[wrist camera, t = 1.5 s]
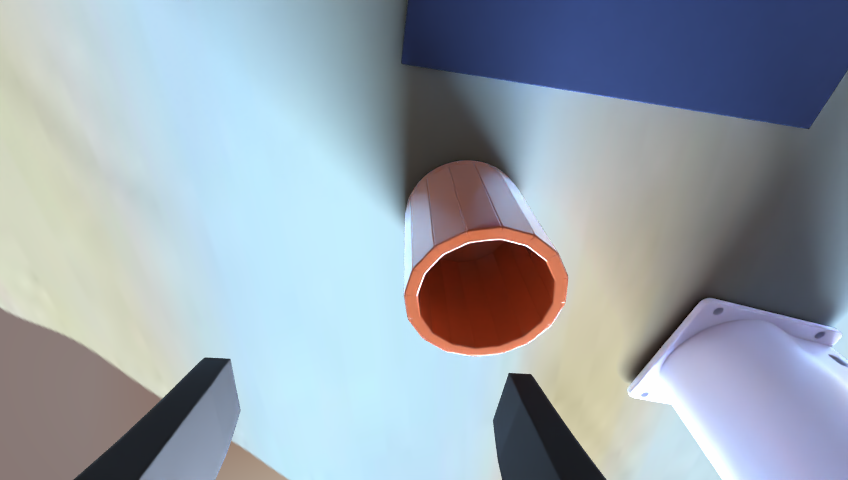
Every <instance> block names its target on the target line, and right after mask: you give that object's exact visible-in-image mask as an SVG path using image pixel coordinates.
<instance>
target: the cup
mask: <svg viewBox="0 0 848 480" xmlns="http://www.w3.org/2000/svg"><path fill="white" fill-rule="evenodd" d="M567 285H568V274H567V272H566V269H565V267H564V265H563V262H562V260H561V258H560V255H559V253H558V252H557V250H556V248H555V247H554V245H553V244H552V242H551V241H550V239H549V237H548V236H547V234H546V233H545V231H544V229H543V228H542V226H541V225H540V223H539V221H538V220H537V218H536V217H535V215H534V213H533V212H532V210H531V209H530V207H529V205H528V204H527V202H526V201H525V199H524V198H523V196H522V194H521V193H520V191H519V190H518V188H517V186H516V185H515V184H514V183H513V182H512V181H511V179H510V178H509V177H508V176H507V175H506V174H505V173H504V172H502V171H501V170H500V169H498V168H496V167H494V166H492V165H490V164H487V163H484V162H480V161H473V160H461V161H455V162H450V163H447V164H444V165H442V166H439V167H437V168H435V169H434V170H432V171H431V172H429V173H428V174H427V175H425V176H424V177H423V178H422V179H421V180H420V181H419V182H418V183H417V185H416V186H415V187H414V189H413V191H412V193H411V194H410V197H409V199H408V202H407V207H406V213H405V228H404V300H405V306H406V312H407V317H408V320H409V321H410V322H411V324H412V325H413V326H414V328H415V329H416V330H417V332H418V333H419V334H420V336H421V337H422V338H423V339H424V340H426V341H428V342H430V343H431V344H433V345H435V346H437V347H439V348H440V349H442V350H444V351H447V352H451V353H456V354H462V355H467V356H484V355H494V354H501V353H505V352H508V351H510V350H513V349H515V348H518V347H520V346H523V345H525V344H528V343H529V342H531V341H532V340H534V339H535V338H536V337H537V336H539V335H540V334H541V333H543V332H544V331H545V330H546V329H548V328H549V327H550V326H551V325H552V324H553V322H554V321H555V319H556V317H557V316H558V314H559V312H560V311H561V309H562V308H563V306H564V304H565V302H566V294H567Z"/></svg>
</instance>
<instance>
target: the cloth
mask: <svg viewBox="0 0 848 480" xmlns="http://www.w3.org/2000/svg"><path fill="white" fill-rule="evenodd" d="M401 63H402V64H406V65H412V66H419V67H425V68H431V69H437V70H444V71H450V72H456V73H462V74H468V75H475V76H481V77H487V78H493V79H500V80H506V81H512V82H518V83H525V84H531V85H537V86H543V87H550V88H556V89H562V90H568V91H575V92H581V93H587V94H593V95H599V96H606V97H612V98H618V99H624V100H631V101H637V102H643V103H649V104H656V105H662V106H668V107H674V108H681V109H687V110H693V111H699V112H706V113H712V114H718V115H724V116H730V117H737V118H743V119H749V120H755V121H762V122H768V123H774V124H780V125H787V126H793V127H799V128H805V129H809V128H810V127H811V125H812V124H813V122H814V121H815V119H816V118H817V116H818V114H819V113H820V111H821V110H822V108H823V107H824V105H825V104H826V102H827V101H828V99H829V98H830V96H831V95H832V93H833V92H834V90H835V88H836V87H837V85H838V84H839V82H840V81H841V79H842V78H843V76H844V75H845V73H846V72H847V70H848V0H408V6H407V15H406V25H405V34H404V43H403V52H402V61H401Z"/></svg>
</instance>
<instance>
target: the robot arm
mask: <svg viewBox="0 0 848 480" xmlns="http://www.w3.org/2000/svg"><path fill="white" fill-rule="evenodd" d="M841 337H842V333H841V332H840V331H839V330H837V329H836V328H833V327H829V326H825V325H821V324H817V323H813V322H808V321H804V320H800V319H796V318H792V317H788V316H784V315H780V314H775V313H771V312H767V311H763V310H759V309H755V308H751V307H747V306H742V305H738V304H734V303H730V302H726V301H722V300H718V299H714V298H706V299H703V300H702V301H700V302H699V303H698V304H697V306H696V307H695V308H694V309H693V310H692V312H691V313H690V314H689V315H688V316H687V317H686V319H685V320H684V321H683V322H682V323H681V325H680V326H679V327H678V328H677V329H676V331H675V332H674V333H673V334H672V335H671V337H670V338H669V339H668V340H667V341H666V342H665V344H664V345H663V346H662V347H661V348H660V350H659V351H658V352H657V353H656V354H655V356H654V357H653V358H652V359H651V360H650V362H649V363H648V364H647V365H646V366H645V367H644V369H643V370H642V371H641V372H640V373H639V375H638V376H637V377H636V378H635V379H634V381H633V382H632V383H631V384H630V385H629V387H628V388H627V392H628V393H629V395H630V396H631V397H633V398H639V399H644V400H650V401H655V402H661V403H666V404H672V406H673V407H674V409H675V410H676V412H677V413H678V414H679V416H680V417H681V419H682V420H683V422H684V423H685V425H686V426H687V428H688V429H689V431H690V432H691V434H692V435H693V437H694V438H695V440H696V441H697V443H698V444H699V446H700V447H701V449H702V450H703V452H704V453H705V455H706V456H707V457H708V459H709V460H710V462H711V463H712V465H713V466H714V468H715V469H716V471H717V472H718V474H719V475H720V477H721V478H722V480H848V360H847V359H846V358H845V357H843V356H842V355H841V354H839V353H838V352H837V351H836V350H834V349H833V348H832V346H833V345H834V344H835V343H836V342H837V341H838V340H839V339H840V338H841ZM239 414H240V406H239V400H238V395H237V390H236V385H235V380H234V375H233V370H232V365H231V360H230V359H223V358H204V359H203V360H201V361H200V362H199V363H198V364H197V365H196V366H195V367H194V368H193V369H192V370H191V371H190V372H189V373H188V374H187V375H186V376H185V377H184V378H183V379H182V380H181V381H180V382H179V383H178V384H177V385H176V386H175V387H174V388H173V389H172V390H171V391H170V392H169V393H168V394H167V395H166V396H165V397H164V398H163V399H162V400H161V401H160V402H159V403H158V404H156V406H154V407H153V408H152V409H151V410H150V411H149V412H148V413H147V414H146V415H145V416H144V417H143V418H142V419H141V420H140V421H138V422H137V423H136V424H135V425H134V426H133V427H132V428H131V429H130V430H129V431H128V432H127V433H126V434H125V435H124V436H122V437H121V438H120V439H119V440H118V441H117V442H116V443H115V444H114V445H113V446H111V447H110V448H109V449H108V450H107V451H106V452H105V453H104V454H102V455H101V456H100V457H99V458H98V459H97V460H96V461H94V462H93V463H92V464H91V465H90V466H89V467H88V468H86V469H85V470H84V471H83V472H82V473H81V474H80V475H78V476H77V477H76V478H75V479H74V480H215V479H216V477H217V474H218V472H219V470H220V468H221V466H222V463H223V461H224V459H225V456H226V454H227V451H228V448H229V445H230V442H231V439H232V436H233V433H234V430H235V427H236V424H237V420H238V417H239ZM493 425H494V433H495V442H496V449H497V457H498V463H499V467H500V472H501V476H502V480H606V478H605V477H604V476H603V474H602V473H601V472H600V471H599V469H598V468H597V467H596V465H595V464H594V463H593V461H592V460H591V459H590V457H589V456H588V455H587V453H586V452H585V451H584V449H583V448H582V447H581V445H580V444H579V442H578V441H577V440H576V438H575V437H574V436H573V434H572V433H571V431H570V430H569V429H568V427H567V426H566V424H565V423H564V421H563V420H562V419H561V417H560V416H559V414H558V413H557V411H556V410H555V408H554V407H553V406H552V404H551V403H550V401H549V400H548V398H547V397H546V395H545V394H544V392H543V391H542V389H541V388H540V386H539V385H538V383H537V382H536V380H535V379H534V377H533V376H532V375H531V374H516V373H509V374H508V377H507V380H506V383H505V386H504V389H503V392H502V395H501V398H500V401H499V404H498V407H497V410H496V413H495V416H494V419H493Z"/></svg>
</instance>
